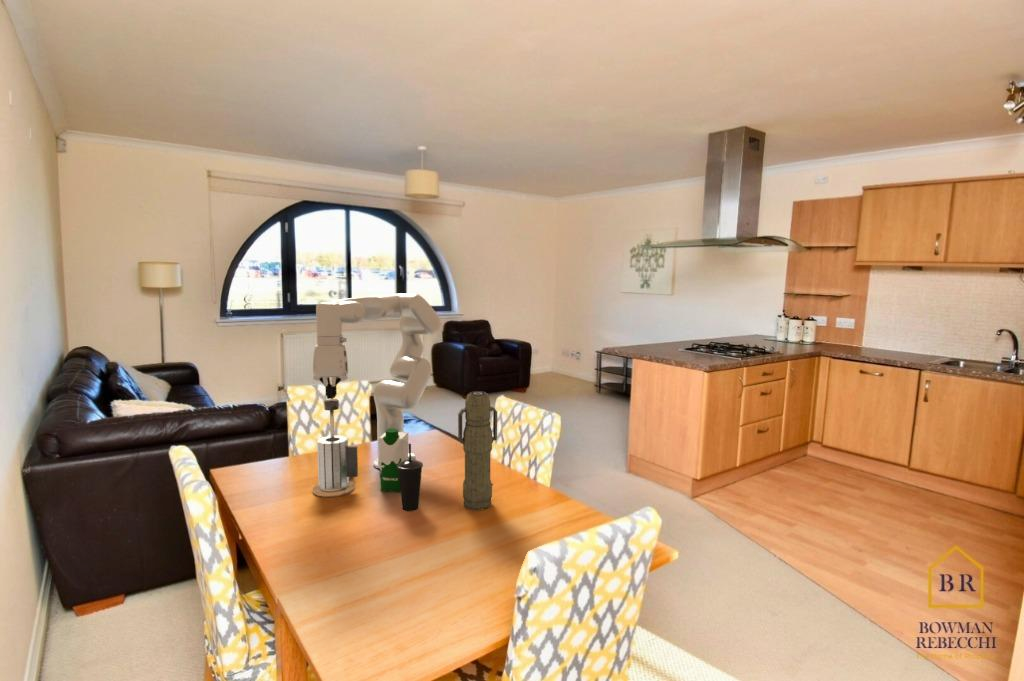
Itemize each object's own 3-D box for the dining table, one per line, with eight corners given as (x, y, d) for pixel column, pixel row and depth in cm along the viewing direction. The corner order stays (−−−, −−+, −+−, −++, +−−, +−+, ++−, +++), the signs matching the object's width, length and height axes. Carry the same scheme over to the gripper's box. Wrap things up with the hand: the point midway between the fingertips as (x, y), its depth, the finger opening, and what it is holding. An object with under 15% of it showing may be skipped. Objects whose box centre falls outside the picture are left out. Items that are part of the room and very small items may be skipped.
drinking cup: (417, 514, 156) (417, 448, 154) (393, 512, 158) (392, 446, 155) (427, 504, 163) (426, 441, 161) (403, 501, 165) (402, 439, 163)
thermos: (454, 501, 165) (454, 391, 161) (490, 496, 170) (490, 388, 166) (463, 513, 157) (463, 397, 153) (500, 507, 162) (501, 394, 158)
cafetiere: (362, 481, 181) (361, 433, 179) (351, 497, 168) (350, 445, 166) (321, 481, 180) (319, 433, 178) (306, 497, 167) (304, 445, 166)
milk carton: (377, 492, 172) (376, 432, 170) (386, 481, 181) (385, 424, 179) (403, 493, 171) (402, 433, 169) (411, 482, 180) (411, 425, 178)
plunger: (341, 454, 175) (340, 399, 173) (337, 459, 171) (336, 402, 168) (328, 454, 175) (326, 399, 173) (324, 459, 171) (322, 402, 168)
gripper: (356, 340, 172) (357, 395, 174) (310, 339, 172) (312, 395, 174) (349, 342, 165) (351, 400, 167) (301, 342, 164) (303, 400, 167)
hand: (331, 397), depth 170 cm, fingers closed
